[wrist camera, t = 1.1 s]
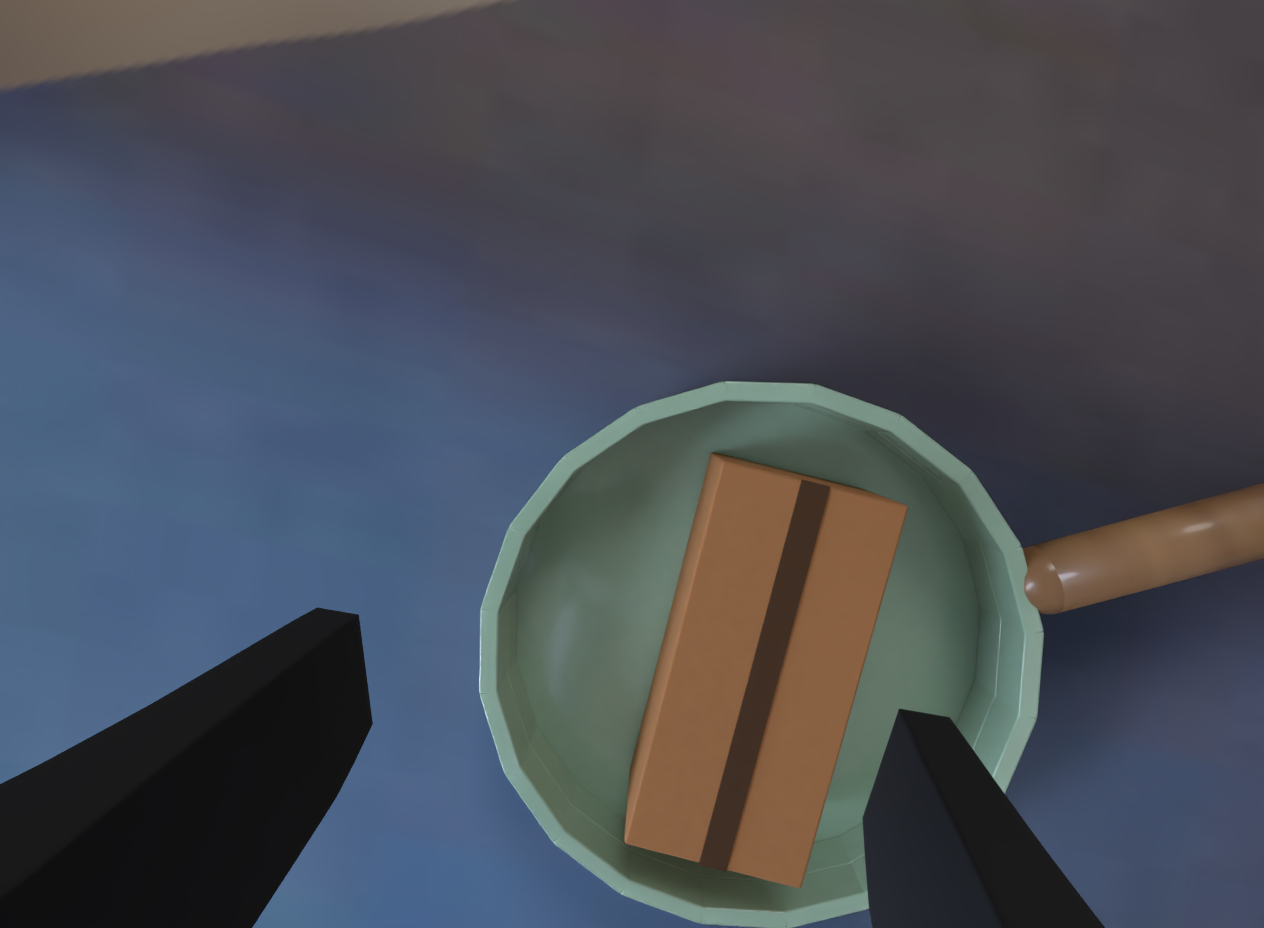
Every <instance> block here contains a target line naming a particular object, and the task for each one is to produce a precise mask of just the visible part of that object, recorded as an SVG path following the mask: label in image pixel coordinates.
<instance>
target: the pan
mask: <svg viewBox="0 0 1264 928" xmlns="http://www.w3.org/2000/svg"><path fill="white" fill-rule="evenodd" d="M711 452H716V453H720V454H724V455H728V456H732V457H736V458H740V459H744V460H748V461H752V462H756V463H760V464H764V465H768V466H772V467H776V468H780V469H785V470H789V471H793V472H797V473H801V474H805V475H809V476H813V477H817V478H821V479H825V480H829V481H833V482H837V483H841V484H845V485H849V486H853V487H857V488H862V489H865V490H867V491H870V492H873V493H875V494H878V495H881V496H883V497H886V498H889V499H891V500H894V501H896V502H899V503H902V504H904V505H906V506H908V511H907V514H906V518H905V521H904V525H903V528H902V532H901V535H900V539H899V542H898V546H897V550H896V553H895V557H894V560H893V564H892V567H891V571H890V574H889V578H888V581H887V585H886V589H885V592H884V596H883V599H882V603H881V606H880V610H879V613H878V617H877V620H876V624H875V628H874V631H873V635H872V638H871V642H870V645H869V649H868V652H867V656H866V659H865V663H864V667H863V670H862V674H861V677H860V681H859V684H858V688H857V691H856V695H855V698H854V702H853V706H852V709H851V713H850V716H849V720H848V723H847V727H846V730H845V734H844V737H843V741H842V745H841V748H840V752H839V755H838V759H837V762H836V766H835V769H834V773H833V776H832V780H831V784H830V787H829V791H828V794H827V798H826V801H825V805H824V808H823V812H822V815H821V819H820V823H819V826H818V830H817V833H816V837H815V840H814V844H813V847H812V851H811V854H810V858H809V862H808V865H807V869H806V872H805V876H804V879H803V883H802V886H801V888H796V887H792V886H788V885H784V884H780V883H776V882H772V881H768V880H765V879H761V878H757V877H753V876H749V875H745V874H741V873H737V872H733V871H730V870H726V872H723V871H719V870H716V869H712V868H708V867H704V866H700V865H699V862H695V861H691V860H687V859H683V858H679V857H675V856H671V855H668V854H664V853H660V852H656V851H652V850H648V849H644V848H640V847H637V846H633V845H629V844H626V843H625V841H624V837H625V824H626V812H627V799H628V786H629V773H630V766H631V762H632V759H633V755H634V751H635V747H636V743H637V739H638V735H639V731H640V727H641V723H642V719H643V715H644V712H645V708H646V704H647V700H648V696H649V692H650V688H651V684H652V680H653V676H654V672H655V669H656V665H657V661H658V657H659V653H660V649H661V645H662V641H663V637H664V633H665V629H666V625H667V622H668V618H669V614H670V610H671V606H672V602H673V598H674V594H675V590H676V586H677V582H678V578H679V575H680V571H681V567H682V563H683V559H684V555H685V551H686V547H687V543H688V539H689V535H690V532H691V528H692V524H693V520H694V516H695V512H696V508H697V504H698V500H699V496H700V492H701V488H702V485H703V481H704V477H705V473H706V469H707V465H708V461H709V457H710V454H711ZM1027 571H1028V567H1027V563H1026V560H1025V556H1024V552H1023V548H1022V547H1021V544H1020V542H1019V541H1018V539H1017V537H1016V536H1015V534H1014V533H1013V531H1012V530H1011V528H1010V527H1009V525H1008V524H1007V522H1006V521H1005V519H1004V518H1003V516H1002V515H1001V513H1000V512H999V510H998V508H997V507H996V505H995V504H994V502H993V501H992V499H991V498H990V496H989V495H988V493H987V492H986V490H985V489H984V487H983V486H982V484H981V483H980V481H979V480H978V478H977V476H976V475H975V473H974V472H972V470H971V469H970V468H969V467H967V466H966V465H965V464H964V463H962V462H961V461H960V460H958V459H957V458H956V457H955V456H953V455H952V454H951V453H950V452H948V451H947V450H946V449H944V448H943V447H942V446H941V445H939V444H938V443H937V442H935V441H934V440H933V439H932V438H930V437H929V436H928V435H927V434H925V433H924V432H923V431H921V430H920V429H919V428H918V427H916V426H915V425H914V424H913V423H911V422H910V421H909V420H907V419H906V418H905V417H904V416H901V415H900V414H898V413H895V412H893V411H890V410H887V409H884V408H881V407H879V406H876V405H873V404H870V403H868V402H865V401H862V400H859V399H856V398H854V397H851V396H848V395H845V394H842V393H840V392H837V391H834V390H831V389H829V388H826V387H823V386H820V385H817V384H815V385H814V384H810V383H776V382H742V381H725V382H718V383H715V384H711V385H708V386H704V387H701V388H697V389H694V390H691V391H687V392H684V393H680V394H677V395H674V396H670V397H667V398H663V399H660V400H656V401H653V402H650V403H646V404H643V405H639V406H637V408H633V409H632V410H630V411H629V412H627V413H626V414H624V415H623V416H621V417H620V418H618V419H617V420H615V421H614V422H613V423H611V424H610V425H608V426H607V427H605V428H604V429H602V430H601V431H599V432H598V433H596V434H595V435H593V436H592V437H591V438H589V439H588V440H586V441H585V442H583V443H582V444H580V445H579V446H577V447H576V448H574V449H573V450H572V451H570V452H569V453H567V454H566V455H564V456H563V458H561V459H560V460H559V462H558V463H557V464H556V465H555V467H554V468H553V469H552V471H551V472H550V473H549V475H548V476H547V477H546V479H545V480H544V481H543V482H542V484H541V485H540V486H539V488H538V489H537V490H536V492H535V493H534V494H533V495H532V497H531V498H530V499H529V501H528V502H527V503H526V505H525V506H524V507H523V509H522V510H521V511H520V512H519V514H518V515H517V516H516V518H515V519H514V520H513V522H512V523H511V524H510V527H509V528H508V530H507V533H506V536H505V538H504V541H503V544H502V547H501V550H500V553H499V556H498V559H497V561H496V564H495V567H494V570H493V573H492V576H491V579H490V582H489V584H488V587H487V590H486V593H485V596H484V599H483V602H482V605H481V610H480V665H479V692H480V697H481V701H482V704H483V707H484V710H485V713H486V717H487V720H488V723H489V726H490V729H491V733H492V736H493V739H494V742H495V745H496V749H497V752H498V755H499V758H500V761H501V765H502V768H503V771H504V773H505V775H506V777H507V778H508V780H509V781H510V782H511V784H512V785H513V787H514V788H515V789H516V791H517V792H518V794H519V795H520V797H521V798H522V799H523V801H524V802H525V804H526V805H527V806H528V808H529V809H530V811H531V812H532V814H533V815H534V816H535V818H536V819H537V821H538V822H539V823H540V825H541V826H542V828H543V829H544V831H545V832H546V833H547V835H548V836H549V838H550V839H551V840H552V842H554V844H555V845H556V846H558V847H559V848H560V849H562V850H563V851H564V852H566V853H567V854H568V855H569V856H571V857H572V858H573V859H575V860H576V861H577V862H579V863H580V864H581V865H583V866H584V867H585V868H587V869H588V870H589V871H590V872H592V873H593V874H594V875H596V876H597V877H598V878H600V879H601V880H602V881H604V882H605V883H606V884H608V885H609V886H610V887H611V888H613V889H614V890H615V891H617V892H618V893H619V894H622V895H623V896H626V897H628V898H631V899H634V900H636V901H639V902H642V903H645V904H647V905H650V906H653V907H655V908H658V909H661V910H664V911H666V912H669V913H672V914H675V915H677V916H680V917H683V918H685V919H688V920H691V921H694V922H696V923H699V924H701V923H702V924H707V925H724V926H742V927H759V928H794V927H798V926H802V925H806V924H810V923H814V922H818V921H822V920H827V919H831V918H835V917H839V916H843V915H847V914H851V913H855V912H859V911H863V910H868V909H869V903H868V890H867V878H866V866H865V851H864V835H863V819H862V818H863V815H864V812H865V809H866V806H867V803H868V800H869V797H870V794H871V791H872V788H873V785H874V782H875V779H876V776H877V773H878V770H879V767H880V764H881V761H882V758H883V755H884V752H885V749H886V746H887V743H888V740H889V737H890V734H891V731H892V728H893V725H894V722H895V719H896V716H897V713H898V710H899V709H905V710H911V711H917V712H923V713H928V714H934V715H940V716H946V717H950V718H951V720H952V721H953V722H954V724H955V725H956V727H957V728H958V729H959V731H960V732H961V733H962V735H963V736H964V738H965V739H966V740H967V742H968V743H969V744H970V746H971V747H972V749H973V750H974V751H975V753H976V754H977V756H978V757H979V759H980V760H981V761H982V763H983V764H984V766H985V767H986V768H987V770H988V771H989V773H990V774H991V775H992V777H993V778H994V780H995V781H996V782H997V784H998V785H999V787H1000V788H1001V789H1002V791H1003V792H1004V794H1005V793H1006V791H1007V788H1008V786H1009V784H1010V781H1011V779H1012V777H1013V774H1014V772H1015V770H1016V767H1017V765H1018V763H1019V760H1020V758H1021V756H1022V753H1023V751H1024V749H1025V746H1026V744H1027V742H1028V739H1029V737H1030V735H1031V732H1032V730H1033V728H1034V725H1035V723H1036V718H1037V717H1038V704H1039V692H1040V679H1041V666H1042V654H1043V641H1044V632H1043V626H1042V622H1041V618H1040V614H1039V610H1038V609H1037V608H1036V607H1034V606H1033V605H1032V604H1031V603H1030V601H1029V600H1028V599H1027V597H1026V595H1025V591H1024V580H1025V576H1026V574H1027Z"/></svg>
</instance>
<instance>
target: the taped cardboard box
mask: <svg viewBox="0 0 1264 928" xmlns="http://www.w3.org/2000/svg"><path fill="white" fill-rule="evenodd" d="M907 511H908V506H906V505H904V504H902V503H899V502H896V501H894V500H891V499H889V498H886V497H883V496H881V495H878V494H875V493H873V492H870V491H867V490H865V489H862V488H857V487H853V486H849V485H845V484H841V483H837V482H833V481H829V480H825V479H821V478H817V477H813V476H809V475H805V474H801V473H797V472H793V471H789V470H785V469H780V468H776V467H772V466H768V465H764V464H760V463H756V462H752V461H748V460H744V459H740V458H736V457H732V456H728V455H724V454H720V453H716V452H711V454H710V457H709V461H708V465H707V469H706V473H705V477H704V481H703V485H702V488H701V492H700V496H699V500H698V504H697V508H696V512H695V516H694V520H693V524H692V528H691V532H690V535H689V539H688V543H687V547H686V551H685V555H684V559H683V563H682V567H681V571H680V575H679V578H678V582H677V586H676V590H675V594H674V598H673V602H672V606H671V610H670V614H669V618H668V622H667V625H666V629H665V633H664V637H663V641H662V645H661V649H660V653H659V657H658V661H657V665H656V669H655V672H654V676H653V680H652V684H651V688H650V692H649V696H648V700H647V704H646V708H645V712H644V715H643V719H642V723H641V727H640V731H639V735H638V739H637V743H636V747H635V751H634V755H633V759H632V762H631V766H630V773H629V786H628V799H627V812H626V824H625V837H624V841H625V843H626V844H629V845H633V846H637V847H640V848H644V849H648V850H652V851H656V852H660V853H664V854H668V855H671V856H675V857H679V858H683V859H687V860H691V861H695V862H699V865H700V866H704V867H708V868H712V869H716V870H719V871H723V872H726V870H730V871H733V872H737V873H741V874H745V875H749V876H753V877H757V878H761V879H765V880H768V881H772V882H776V883H780V884H784V885H788V886H792V887H796V888H801V886H802V883H803V879H804V876H805V872H806V869H807V865H808V862H809V858H810V854H811V851H812V847H813V844H814V840H815V837H816V833H817V830H818V826H819V823H820V819H821V815H822V812H823V808H824V805H825V801H826V798H827V794H828V791H829V787H830V784H831V780H832V776H833V773H834V769H835V766H836V762H837V759H838V755H839V752H840V748H841V745H842V741H843V737H844V734H845V730H846V727H847V723H848V720H849V716H850V713H851V709H852V706H853V702H854V698H855V695H856V691H857V688H858V684H859V681H860V677H861V674H862V670H863V667H864V663H865V659H866V656H867V652H868V649H869V645H870V642H871V638H872V635H873V631H874V628H875V624H876V620H877V617H878V613H879V610H880V606H881V603H882V599H883V596H884V592H885V589H886V585H887V581H888V578H889V574H890V571H891V567H892V564H893V560H894V557H895V553H896V550H897V546H898V542H899V539H900V535H901V532H902V528H903V525H904V521H905V518H906V514H907Z"/></svg>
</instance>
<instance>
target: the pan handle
mask: <svg viewBox="0 0 1264 928" xmlns="http://www.w3.org/2000/svg"><path fill="white" fill-rule="evenodd" d="M1023 552H1024V556H1025V560H1026V563H1027V567H1028V571H1027V574H1026V576H1025V580H1024V591H1025V595H1026V597H1027V599H1028V600H1029V601H1030V603H1031V604H1032V605H1033V606H1034V607H1036V608H1037V609H1038V610H1039V614H1056V613H1061V612H1065V611H1068V610H1072V609H1076V608H1080V607H1083V606H1087V605H1091V604H1095V603H1099V602H1102V601H1106V600H1110V599H1114V598H1117V597H1121V596H1125V595H1129V594H1133V593H1136V592H1140V591H1144V590H1148V589H1151V588H1155V587H1159V586H1163V585H1167V584H1170V583H1174V582H1178V581H1182V580H1185V579H1189V578H1193V577H1197V576H1201V575H1204V574H1208V573H1212V572H1216V571H1220V570H1223V569H1227V568H1231V567H1235V566H1238V565H1242V564H1246V563H1250V562H1254V561H1257V560H1261V559H1264V483H1261V484H1257V485H1253V486H1250V487H1246V488H1242V489H1239V490H1235V491H1231V492H1228V493H1224V494H1220V495H1216V496H1213V497H1209V498H1205V499H1202V500H1198V501H1194V502H1191V503H1187V504H1183V505H1180V506H1176V507H1172V508H1168V509H1165V510H1161V511H1157V512H1154V513H1150V514H1146V515H1143V516H1139V517H1135V518H1132V519H1128V520H1124V521H1120V522H1117V523H1113V524H1109V525H1106V526H1102V527H1098V528H1095V529H1091V530H1087V531H1084V532H1080V533H1076V534H1072V535H1069V536H1065V537H1061V538H1058V539H1054V540H1050V541H1047V542H1043V543H1039V544H1036V545H1032V546H1028V547H1026V548H1023Z"/></svg>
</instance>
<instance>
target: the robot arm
mask: <svg viewBox="0 0 1264 928" xmlns="http://www.w3.org/2000/svg"><path fill="white" fill-rule="evenodd" d="M372 724H373V723H372V716H371V708H370V700H369V692H368V684H367V677H366V669H365V661H364V653H363V645H362V637H361V630H360V622H359V615H357V614H351V613H345V612H340V611H334V610H328V609H322V608H316V609H314V610H312V611H310V612H308V613H307V614H305V615H303V616H301V617H299V618H297V619H296V620H294V621H292V622H290V623H289V624H287V625H285V626H284V627H282V628H280V629H278V630H277V631H275V632H273V633H272V634H270V635H268V636H266V637H265V638H263V639H261V640H260V641H258V642H256V643H255V644H253V645H251V646H250V647H248V648H246V649H245V650H243V651H241V652H239V653H238V654H236V655H234V656H233V657H231V658H229V659H228V660H226V661H224V662H223V663H221V664H219V665H218V666H216V667H214V668H212V669H211V670H209V671H207V672H206V673H204V674H202V675H200V676H199V677H197V678H195V679H193V680H192V681H190V682H188V683H187V684H185V685H183V686H181V687H180V688H178V689H176V690H175V691H173V692H171V693H169V694H168V695H166V696H164V697H163V698H161V699H159V700H157V701H156V702H154V703H152V704H150V705H149V706H147V707H145V708H143V709H142V710H140V711H138V712H136V713H134V714H132V715H130V716H129V717H127V718H125V719H123V720H121V721H119V722H118V723H116V724H114V725H112V726H110V727H108V728H106V729H105V730H103V731H101V732H99V733H97V734H95V735H94V736H92V737H90V738H88V739H86V740H84V741H82V742H81V743H79V744H77V745H75V746H73V747H71V748H69V749H68V750H66V751H64V752H62V753H60V754H58V755H57V756H55V757H53V758H51V759H49V760H47V761H45V762H44V763H42V764H40V765H38V766H36V767H34V768H32V769H30V770H28V771H26V772H24V773H22V774H20V775H18V776H16V777H14V778H12V779H10V780H8V781H6V782H4V783H2V784H0V928H252V927H253V925H254V924H255V922H256V921H257V919H258V918H259V916H260V915H261V913H262V912H263V910H264V909H265V907H266V905H267V904H268V902H269V901H270V899H271V898H272V896H273V895H274V893H275V892H276V890H277V889H278V887H279V886H280V884H281V882H282V881H283V879H284V878H285V876H286V875H287V873H288V872H289V870H290V869H291V867H292V866H293V864H294V862H295V861H296V859H297V858H298V856H299V855H300V853H301V852H302V850H303V849H304V847H305V845H306V844H307V842H308V841H309V839H310V838H311V836H312V835H313V833H314V831H315V830H316V828H317V827H318V825H319V824H320V822H321V821H322V819H323V817H324V816H325V814H326V813H327V811H328V809H329V808H330V806H331V805H332V803H333V802H334V800H335V798H336V797H337V795H338V793H339V791H340V789H341V787H342V785H343V783H344V781H345V779H346V777H347V776H348V774H349V772H350V770H351V768H352V766H353V764H354V762H355V760H356V758H357V756H358V753H359V751H360V749H361V747H362V745H363V743H364V741H365V739H366V737H367V735H368V732H369V730H370V728H371V726H372ZM862 819H863V835H864V851H865V866H866V878H867V890H868V903H869V910H870V915H871V921H872V927H873V928H1105V927H1104V926H1103V925H1102V923H1101V922H1100V921H1099V919H1098V918H1097V917H1096V916H1095V914H1094V913H1093V912H1092V910H1091V909H1090V908H1089V907H1088V905H1087V904H1086V903H1085V901H1084V900H1083V899H1082V897H1081V896H1080V895H1079V893H1078V892H1077V891H1076V889H1075V888H1074V887H1073V885H1072V884H1071V883H1070V882H1069V880H1068V879H1067V878H1066V876H1065V875H1064V874H1063V872H1062V871H1061V870H1060V868H1059V867H1058V866H1057V864H1056V863H1055V862H1054V861H1053V859H1052V858H1051V857H1050V855H1049V854H1048V853H1047V851H1046V850H1045V849H1044V847H1043V846H1042V845H1041V843H1040V842H1039V840H1038V839H1037V838H1036V836H1035V835H1034V834H1033V832H1032V831H1031V830H1030V828H1029V827H1028V825H1027V824H1026V823H1025V821H1024V820H1023V819H1022V817H1021V816H1020V814H1019V813H1018V812H1017V810H1016V809H1015V807H1014V806H1013V805H1012V803H1011V802H1010V801H1009V799H1008V798H1007V796H1006V795H1005V794H1004V792H1003V791H1002V789H1001V788H1000V787H999V785H998V784H997V782H996V781H995V780H994V778H993V777H992V775H991V774H990V773H989V771H988V770H987V768H986V767H985V766H984V764H983V763H982V761H981V760H980V759H979V757H978V756H977V754H976V753H975V751H974V750H973V749H972V747H971V746H970V744H969V743H968V742H967V740H966V739H965V738H964V736H963V735H962V733H961V732H960V731H959V729H958V728H957V727H956V725H955V724H954V722H953V721H952V720H951V718H950V717H946V716H940V715H934V714H928V713H923V712H917V711H911V710H905V709H899V710H898V713H897V716H896V719H895V722H894V725H893V728H892V731H891V734H890V737H889V740H888V743H887V746H886V749H885V752H884V755H883V758H882V761H881V764H880V767H879V770H878V773H877V776H876V779H875V782H874V785H873V788H872V791H871V794H870V797H869V800H868V803H867V806H866V809H865V812H864V815H863V818H862Z"/></svg>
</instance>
